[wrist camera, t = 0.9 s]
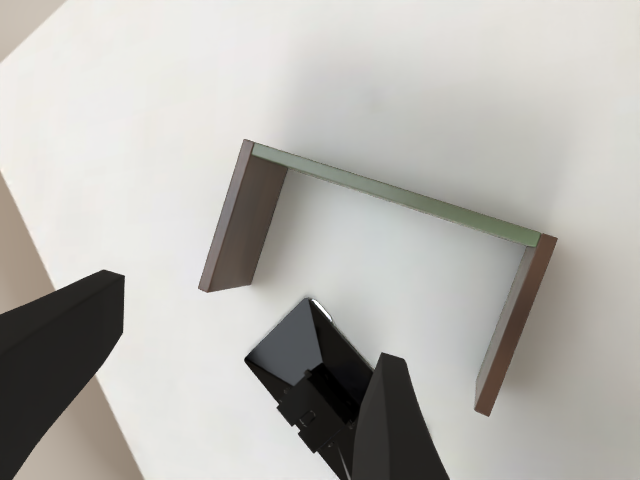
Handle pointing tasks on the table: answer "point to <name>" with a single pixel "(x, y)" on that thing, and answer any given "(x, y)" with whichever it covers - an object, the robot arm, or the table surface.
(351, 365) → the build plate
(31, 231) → the table surface
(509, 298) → the stall
